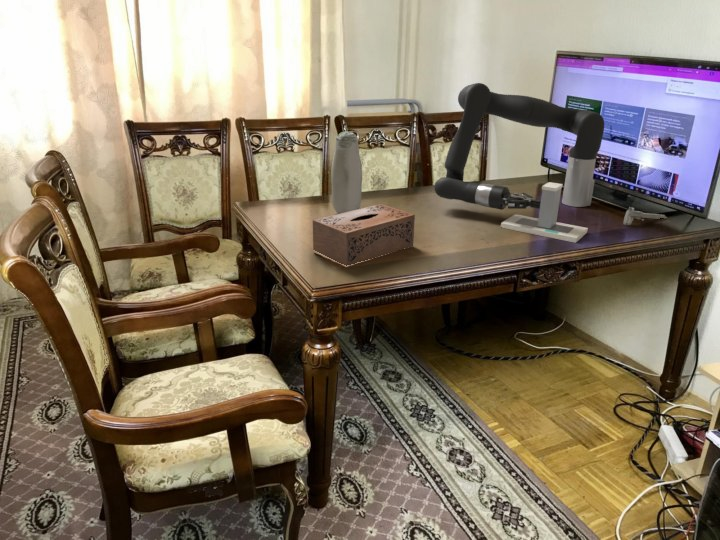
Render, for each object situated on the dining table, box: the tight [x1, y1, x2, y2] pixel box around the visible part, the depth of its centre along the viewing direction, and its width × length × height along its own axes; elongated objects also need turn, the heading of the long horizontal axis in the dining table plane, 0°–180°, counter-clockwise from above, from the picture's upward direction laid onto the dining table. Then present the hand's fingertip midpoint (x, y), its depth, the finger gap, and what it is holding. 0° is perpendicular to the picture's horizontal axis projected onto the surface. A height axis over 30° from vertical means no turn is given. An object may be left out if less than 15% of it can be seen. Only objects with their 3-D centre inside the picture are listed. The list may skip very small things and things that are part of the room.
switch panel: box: [500, 213, 589, 244], centre depth 187 cm, size 24×12×2 cm, turn 55°
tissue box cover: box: [312, 203, 416, 266], centre depth 167 cm, size 26×14×10 cm, turn 131°
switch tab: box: [538, 181, 564, 229], centre depth 184 cm, size 4×6×13 cm
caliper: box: [623, 206, 668, 226], centre depth 196 cm, size 20×1×6 cm, turn 117°
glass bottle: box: [330, 130, 363, 214], centre depth 194 cm, size 10×10×28 cm
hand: (543, 205), depth 185 cm, fingers closed
